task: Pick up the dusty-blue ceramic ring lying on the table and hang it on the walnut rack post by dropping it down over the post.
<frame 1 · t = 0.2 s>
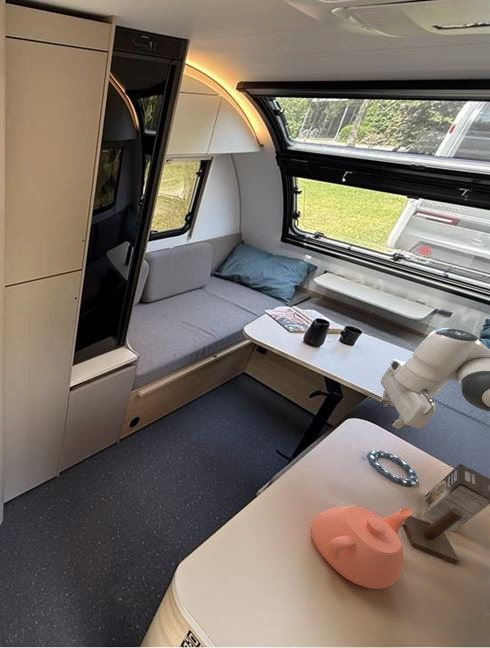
hand: (388, 415, 105), 20 cm above the counter, tool pointing down, fingers open, 8 cm apart
rack post: (424, 538, 94), on the counter
teapot: (348, 552, 89), on the counter
coffee box: (435, 515, 100), on the counter
ring: (391, 468, 111), point 1 cm above the counter
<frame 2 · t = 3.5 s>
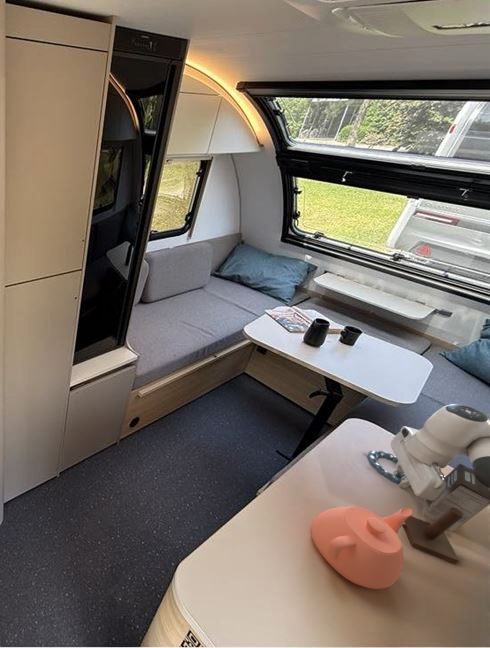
hand: (398, 480, 107), 2 cm above the counter, tool pointing down, fingers closed on ring, 2 cm apart
ring: (391, 468, 111), point 1 cm above the counter, touching gripper
everything else where it was.
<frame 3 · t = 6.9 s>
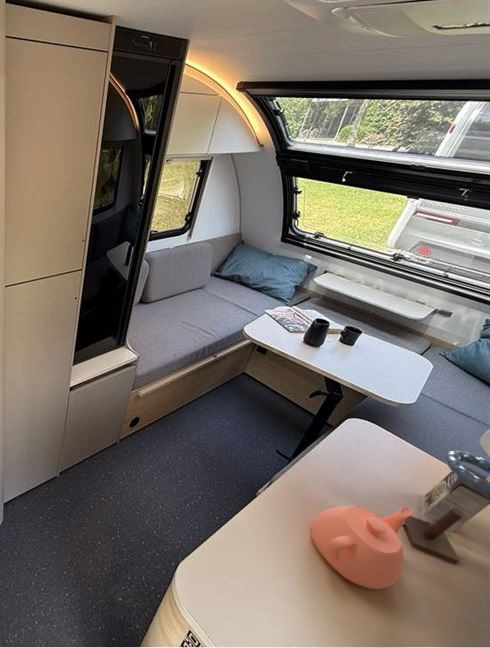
ring: (481, 474, 85), point 24 cm above the counter, touching gripper
everything else where it was.
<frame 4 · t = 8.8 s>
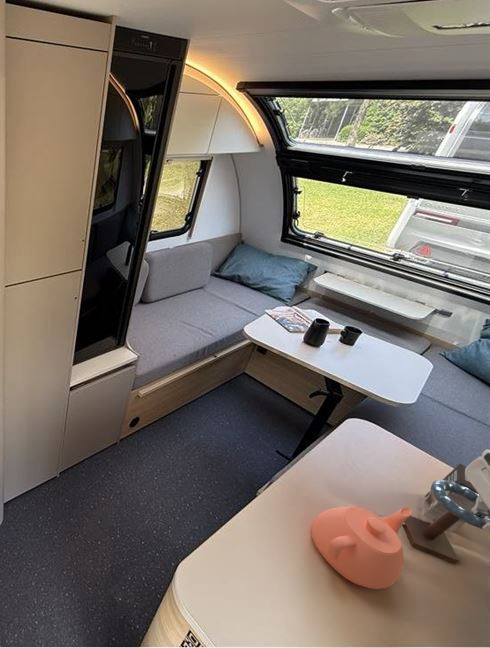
hand: (480, 521, 82), 16 cm above the counter, tool pointing down, fingers closed on ring, 2 cm apart
ring: (466, 504, 86), point 16 cm above the counter, touching gripper
everything else where it was.
when the fingers open (12 cm above the counter, at t = 10.3 s): ring drops 9 cm, resting on rack post.
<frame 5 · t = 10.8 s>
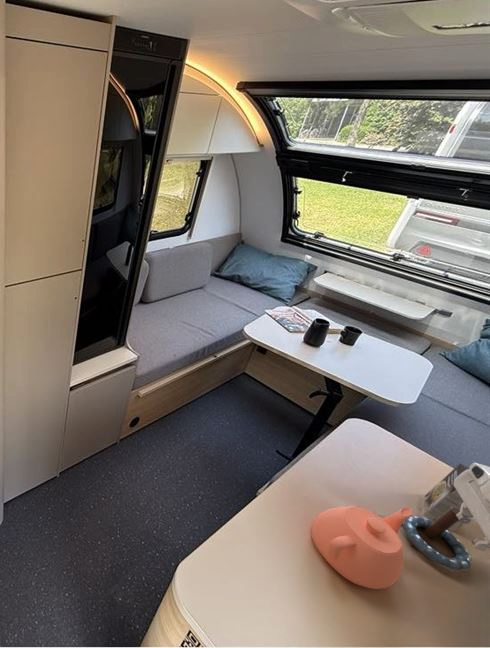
hand: (468, 532, 84), 12 cm above the counter, tool pointing down, fingers open, 5 cm apart
ring: (435, 541, 91), point 3 cm above the counter, touching rack post
everything else where it was.
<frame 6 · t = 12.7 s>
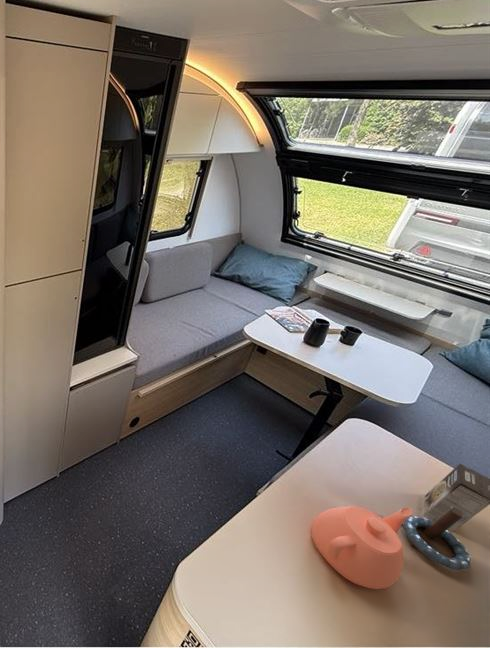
nothing on the counter moved.
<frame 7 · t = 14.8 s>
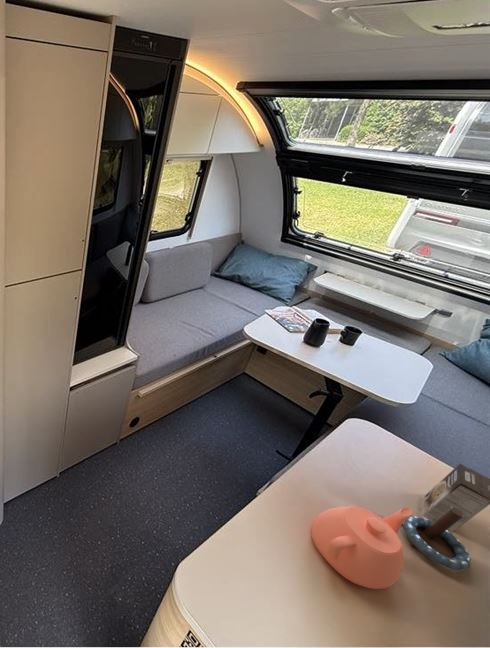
nothing on the counter moved.
at the end: ring 2.5 cm off-centre on the rack post, point 2.7 cm above the rack post's base; the gripper is holding nothing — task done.
